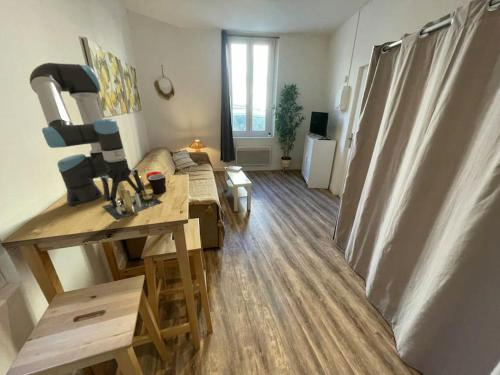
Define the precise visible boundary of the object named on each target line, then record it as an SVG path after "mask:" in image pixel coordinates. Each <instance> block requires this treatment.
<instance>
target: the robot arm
mask: <svg viewBox="0 0 500 375" xmlns="http://www.w3.org/2000/svg"><path fill="white" fill-rule="evenodd" d="M29 84H30V87H31V89H32V91H33V92H34V93H35V94H36V95H37V98H38V101H39V104H40V106H41V109H42V113H43V115H44V117H45V121H46V124H47V127H43V128H42V129H41V132H42V134H43V137H44V140H45V142H46V145H47V146H48V147H50V148H51V149H53V148H66V147H67V148H68V147H73V146H80V145H89V144H90V148H91V150H90V151H89V155H90V156H87V155H86V154H84V153H81V154H74V155H70V156H68V157H64V158H62V159H60V160H58V161H57V163H56V164H57V167H58V172H59V173H60V174H61V175H60V176H61V178H62V180H63V182H64V183H63V184H64V186H65V188H66V203H67V204H68V206H71V207H76V206H79V205H82V204H87V203H90V202H94V201H96V200H98V199H99V198H101V197H102V196H104V200H106V201H107V202H110V201H111V202H112V205H113V207H114V208H116V209H117V212H118V213H119V214H122V212H121V209H120V205H119V202H118V200H117V199H118V198H117V193H118V190H117V188H118V185H119V182H122V181H123V182H127V183H128V184H129V185H130V187H131V188H132V189H133V190H134V192H133V196H135V199H136V203H137V206H139V207H141V203H140V199H141V194H140V193H141V191H142V190H144V188H143V185H142V183H141V181H140V178H139V176H140V175H139V170H138V169H137V168H133V169H130V167H129V164H128V159H127V158H126V152H125V149H124V145H123V142H122V141H123V140H122V138H121V133H120V127H119V126H118V122H117V120H116V119H114V118H103V116H102V113H101V110H100V106H99V103H98V100H97V98H98V97H99V96H100V95H99V92H102V91H101V89H102V88H101V86H100V82H99V79H98V77H97V75H96V73H95V71H94V69H93V68H92V67H90V66H89V65H84V64H76V63H75V64H74V63H57V62H56V63H54V62H45V63H42V64H40V65H37V66H36V67H35V68H34V69H33V70H32V72H31V73H30V76H29ZM62 92H67V93H69V94H68V95H69V96H70V97H71V98H73V99H74V100H75V103H76V106H77V108H78V111H79V114H80V115H79V116H80V118H81V120H82V123H83V124H73V121H72V119H71V116H70V113H69V111H68V109H67V106H66V104H65V101H64V99H63V97H62V95H61V94H62ZM130 175H132V177H133V178H134V181H135V183H134V182H133V180H132V179H131V177H130ZM98 178H99V179H100V180H101V182H102V188H103V192H102V191H101V189H100V188H99V187H98V186H97V185H96V183H95V180H94V179H98ZM109 179H110V180H111V181H112V182H111V183H112V185H111V189H110V187H109ZM136 183H137V184H136ZM137 185H138V187H139V188H137ZM110 190H111V191H110ZM103 194H104V195H103Z"/></svg>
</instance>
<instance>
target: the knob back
mask: <svg viewBox="0 0 500 375" xmlns="http://www.w3.org/2000/svg"><path fill="white" fill-rule="evenodd" d="M124 190H126V189H125V186H124V181H122V182H119V185H118V188H117V193H118V196H119V197H118V198H116V199H117V200H118V202H119V205H121V201H123V199H122V196H121V191H124ZM109 204H110V205H111V207H113V205H112V202H111V201H109Z"/></svg>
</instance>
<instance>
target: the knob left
mask: <svg viewBox="0 0 500 375" xmlns="http://www.w3.org/2000/svg"><path fill="white" fill-rule="evenodd" d="M138 176H139V178H140V181H141V183H142V185H143V188H144V190H142V191H141V193H140V194H141V197H143V200H144V201H149V200H151V199H153V197H154V196H153V194H152V193H147V191H146V188H145V184H144V183H145V182H144V179H143V175H138ZM135 185H136V187H137V188H139V187H138V185H137V183H136V182H135Z"/></svg>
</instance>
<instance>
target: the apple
mask: <svg viewBox="0 0 500 375" xmlns="http://www.w3.org/2000/svg"><path fill="white" fill-rule="evenodd" d="M156 174H163V173H162V172H161V171H150V172H147V173H146V176H145V177H146V179H147V181H148V182H149V179H148V177H150V176H152V175H156ZM149 184H150V182H149Z"/></svg>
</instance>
